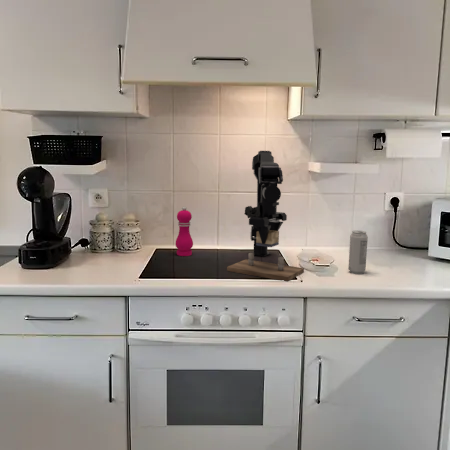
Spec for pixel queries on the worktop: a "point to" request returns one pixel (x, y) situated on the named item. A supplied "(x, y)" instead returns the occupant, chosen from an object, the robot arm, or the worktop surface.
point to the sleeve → (268, 239)
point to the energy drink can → (358, 252)
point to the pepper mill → (184, 233)
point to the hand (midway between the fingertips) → (267, 242)
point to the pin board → (266, 269)
